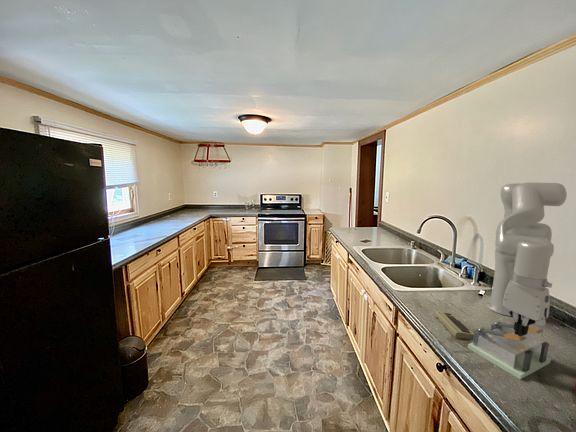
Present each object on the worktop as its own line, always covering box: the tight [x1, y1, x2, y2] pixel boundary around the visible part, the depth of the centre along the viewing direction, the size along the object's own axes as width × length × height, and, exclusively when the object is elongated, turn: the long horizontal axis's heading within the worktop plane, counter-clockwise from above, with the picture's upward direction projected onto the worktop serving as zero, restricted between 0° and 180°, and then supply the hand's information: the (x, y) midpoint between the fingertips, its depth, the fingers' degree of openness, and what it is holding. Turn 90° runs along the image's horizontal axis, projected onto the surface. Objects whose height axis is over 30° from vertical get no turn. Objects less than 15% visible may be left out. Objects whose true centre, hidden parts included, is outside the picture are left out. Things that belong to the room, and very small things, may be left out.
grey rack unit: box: [472, 321, 550, 372], centre depth 90 cm, size 16×15×6 cm
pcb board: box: [467, 342, 552, 380], centre depth 91 cm, size 18×16×2 cm
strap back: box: [493, 321, 544, 334], centre depth 92 cm, size 2×14×1 cm, turn 23°
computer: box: [433, 310, 474, 340], centre depth 108 cm, size 16×8×3 cm, turn 178°
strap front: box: [477, 327, 526, 341], centre depth 88 cm, size 2×14×1 cm, turn 23°
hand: (519, 334), depth 83 cm, fingers closed
